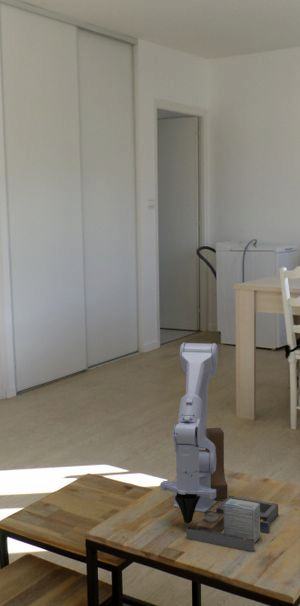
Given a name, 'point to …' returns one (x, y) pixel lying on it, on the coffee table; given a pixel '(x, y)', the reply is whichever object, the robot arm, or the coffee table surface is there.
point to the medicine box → (242, 519)
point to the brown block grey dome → (212, 522)
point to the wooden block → (218, 463)
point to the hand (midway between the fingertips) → (188, 521)
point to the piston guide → (225, 536)
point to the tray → (266, 509)
